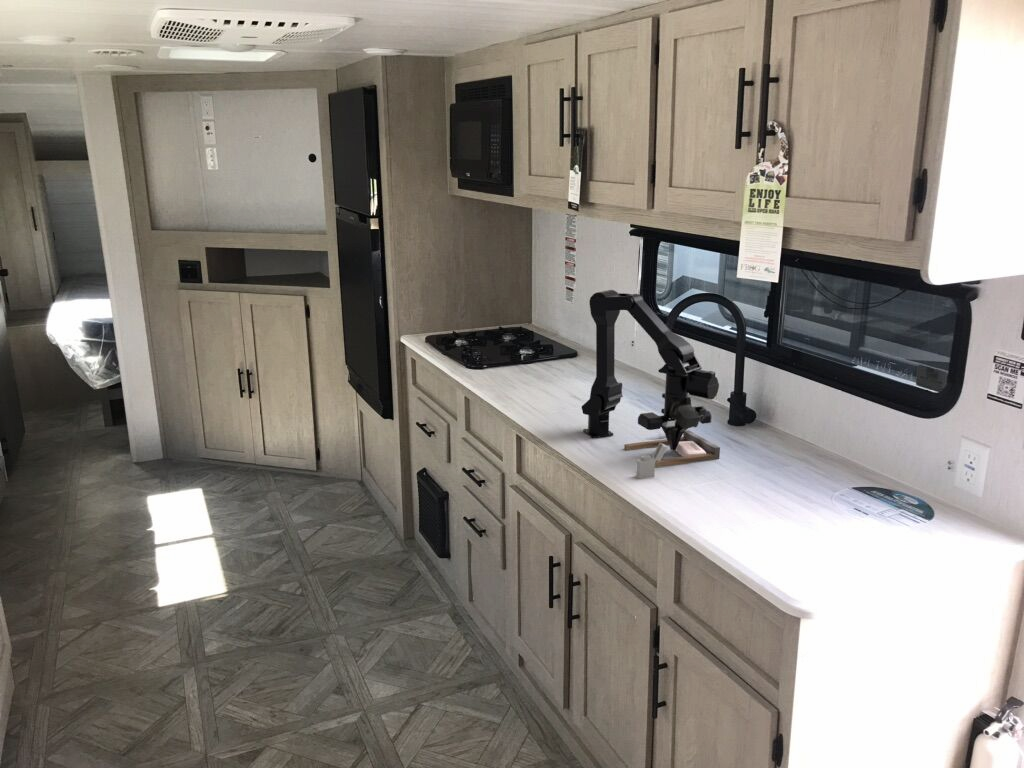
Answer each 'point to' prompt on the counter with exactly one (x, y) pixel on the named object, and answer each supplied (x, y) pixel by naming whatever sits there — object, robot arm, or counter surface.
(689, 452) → the soap bar
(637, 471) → the lighter
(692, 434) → the guide channel
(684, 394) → the robot arm
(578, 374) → the counter surface
